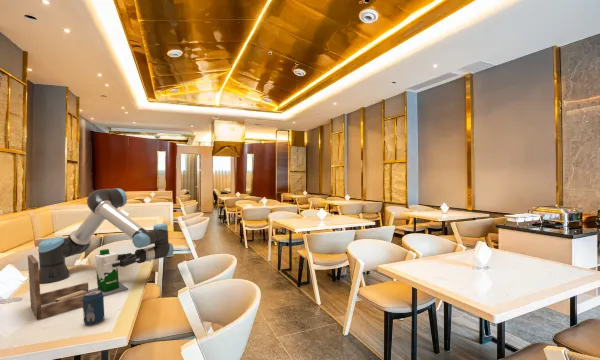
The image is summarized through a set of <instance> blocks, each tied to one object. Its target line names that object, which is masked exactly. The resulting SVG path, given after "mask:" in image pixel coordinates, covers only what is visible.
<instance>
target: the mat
mask: <svg viewBox="0 0 600 360" xmlns="http://www.w3.org/2000/svg"><path fill="white" fill-rule="evenodd" d="M88 290H89V291H93V290H98V287H95V288H91V289H88ZM127 290H129V287H128V286H126V285H124V284H123V283H121V282H119V288H117V289H114V290H110V291H107V292H102V291H101V292H102V293H103V298H104V297H107V296H110V295H114V294H117V293H121V292H124V291H127Z"/></svg>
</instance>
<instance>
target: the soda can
mask: <svg viewBox="0 0 600 360" xmlns="http://www.w3.org/2000/svg"><path fill="white" fill-rule="evenodd" d="M104 301H105V300H104V297H103V293H102V292H101V290H93V291H89V292H87V293H85V294H84V297H83V307H82V314H83V315H82V316H83V322H84V324H85V325H87V326H95V325H98V324H100V323H101V322H102V321H103V320H104V318H105V304H104Z"/></svg>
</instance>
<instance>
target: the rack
mask: <svg viewBox="0 0 600 360" xmlns="http://www.w3.org/2000/svg"><path fill="white" fill-rule="evenodd" d="M27 265H28V267H27V268H28V280H29V281H28V283H29V297H30V308H31V310H32V313H33V315H34V316H35V319H36V321H41V320H44V319H47V318H50V317H54V316H57V315H61V314H64V313H67V312H71V311H74V310H77V309H81V308H83V297H84V295H81V296H77V297H73V298H70V299H66V300H62V301H59V302H56V301H55V299H57V298H60V297H63V296H66V295H69V294H72V293H75V292H78V291H81V290H83V291H87V292H89V290H90V289H89V282H87V281H86V282H82V283H79V284H75V285H70V286H67V287H63V288H59V289H54V290H51V291H47V292H43V293H41V286H40V285H41V283H40V281H39V269H40V266H39V261H38V260H37V259H36V258H35V257H34V255H33V254H28V255H27Z"/></svg>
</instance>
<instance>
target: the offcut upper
mask: <svg viewBox="0 0 600 360" xmlns="http://www.w3.org/2000/svg"><path fill="white" fill-rule="evenodd" d="M85 293H87V291H83V290H81V291H78V292H75V293H72V294H69V295H66V296H63V297H60V298H57V299H55V301H56V302H59V301H62V300H66V299H70V298H73V297H77V296H81V295H84V294H85Z"/></svg>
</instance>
